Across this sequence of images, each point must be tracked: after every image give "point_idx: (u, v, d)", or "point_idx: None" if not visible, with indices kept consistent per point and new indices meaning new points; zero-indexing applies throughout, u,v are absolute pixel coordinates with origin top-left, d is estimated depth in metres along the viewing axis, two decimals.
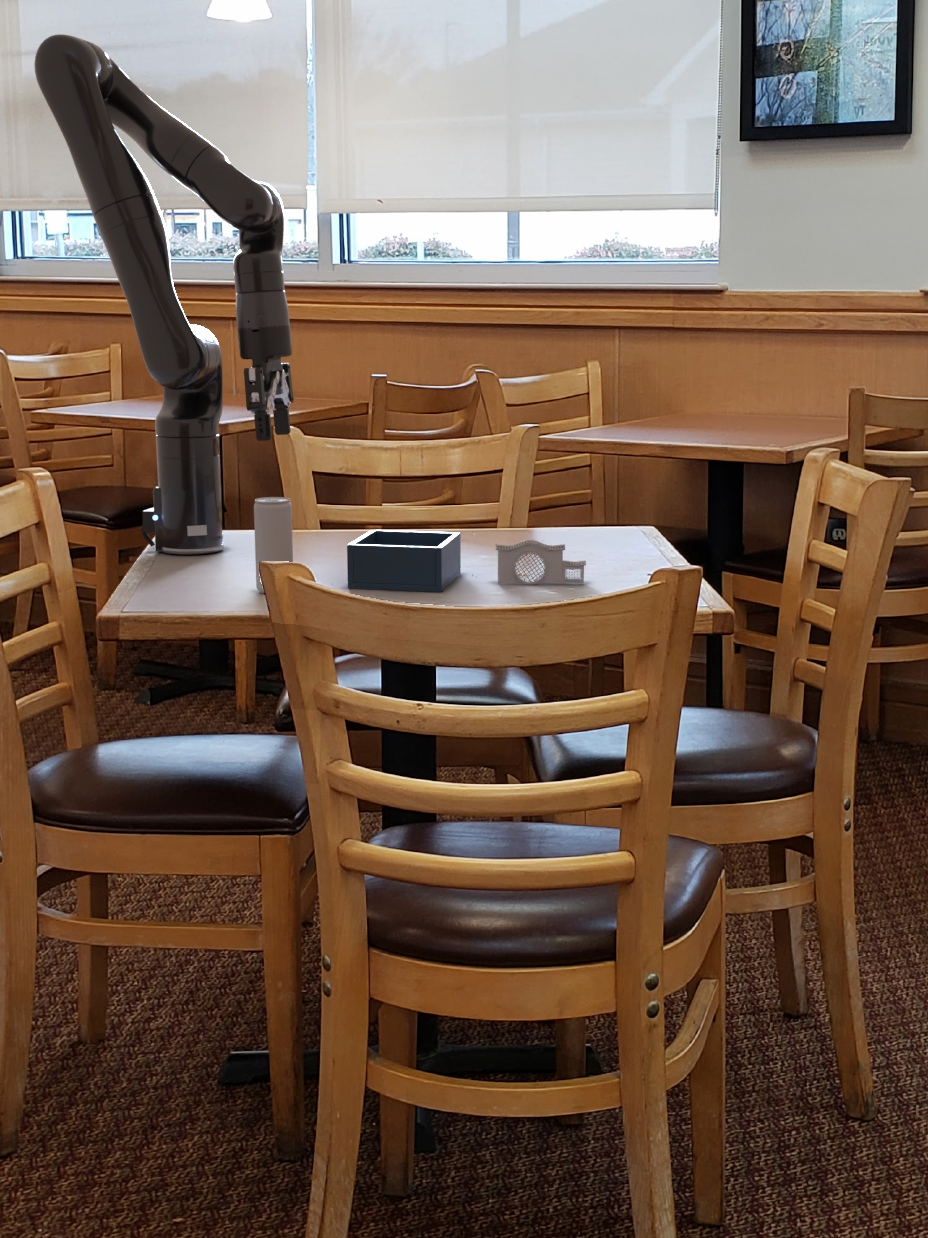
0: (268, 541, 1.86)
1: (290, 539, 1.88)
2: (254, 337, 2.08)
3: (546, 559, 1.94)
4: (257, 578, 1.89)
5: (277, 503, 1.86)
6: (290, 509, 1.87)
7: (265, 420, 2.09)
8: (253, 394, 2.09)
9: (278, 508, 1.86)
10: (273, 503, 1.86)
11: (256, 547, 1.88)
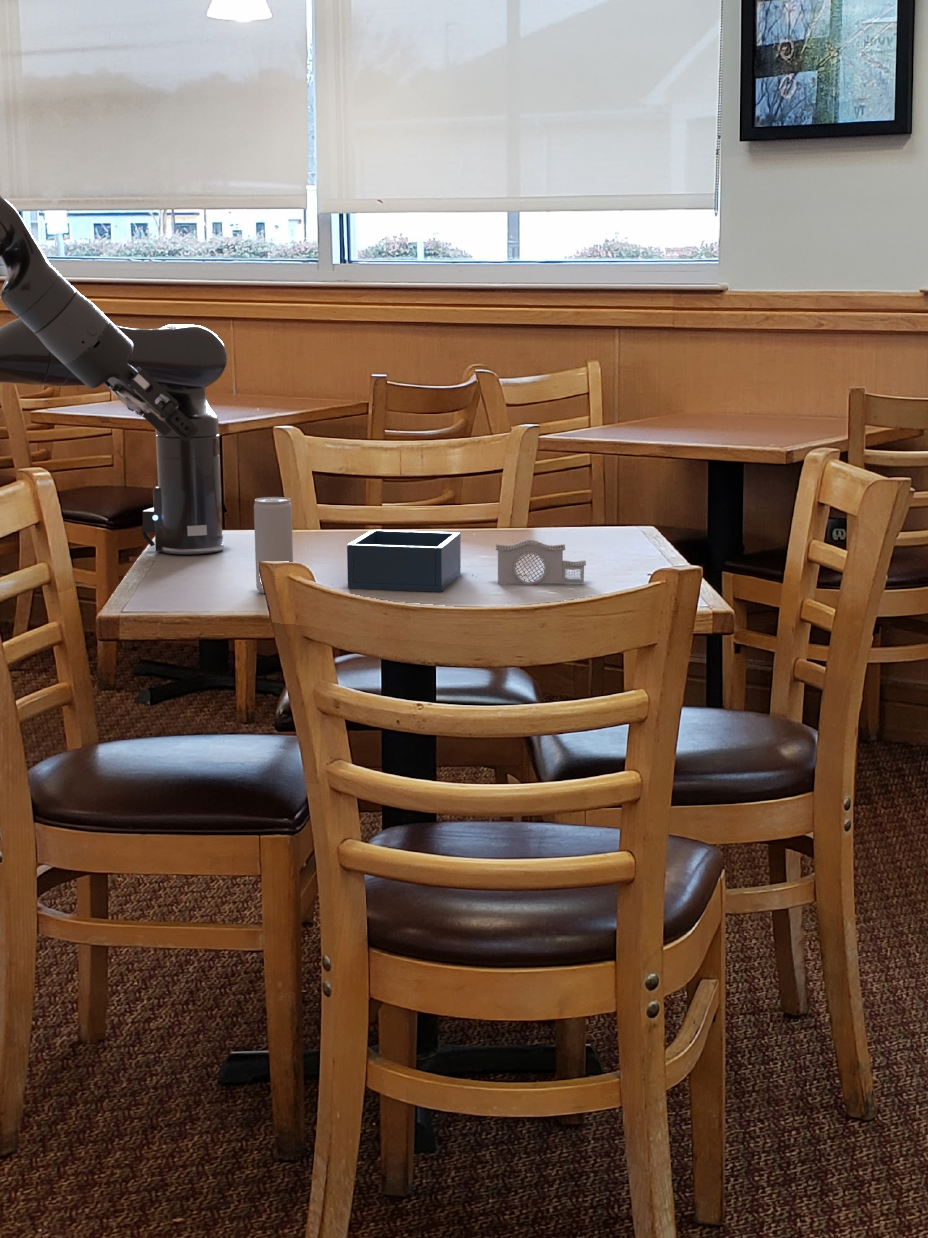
0: (268, 541, 1.86)
1: (290, 539, 1.88)
2: (101, 351, 1.70)
3: (546, 559, 1.94)
4: (257, 578, 1.89)
5: (277, 503, 1.86)
6: (290, 509, 1.87)
7: (181, 416, 1.75)
8: (146, 405, 1.74)
9: (278, 508, 1.86)
10: (273, 503, 1.86)
11: (256, 547, 1.88)
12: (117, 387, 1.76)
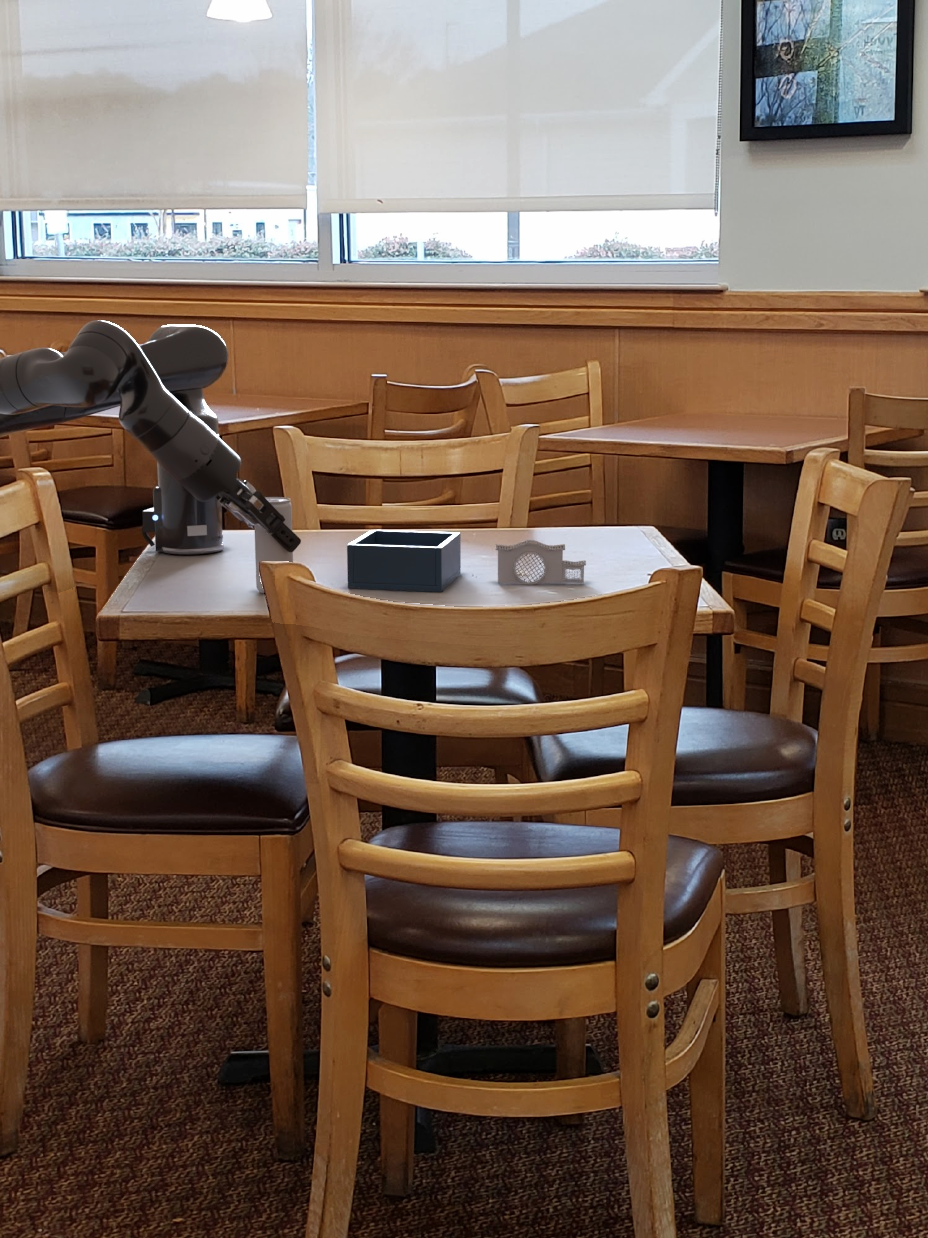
0: (268, 541, 1.86)
1: None
2: (213, 469, 1.79)
3: (546, 559, 1.94)
4: (257, 578, 1.89)
5: (277, 503, 1.86)
6: (290, 509, 1.87)
7: (286, 529, 1.86)
8: (255, 520, 1.84)
9: (278, 507, 1.86)
10: (273, 503, 1.86)
11: (256, 547, 1.88)
12: (224, 499, 1.85)
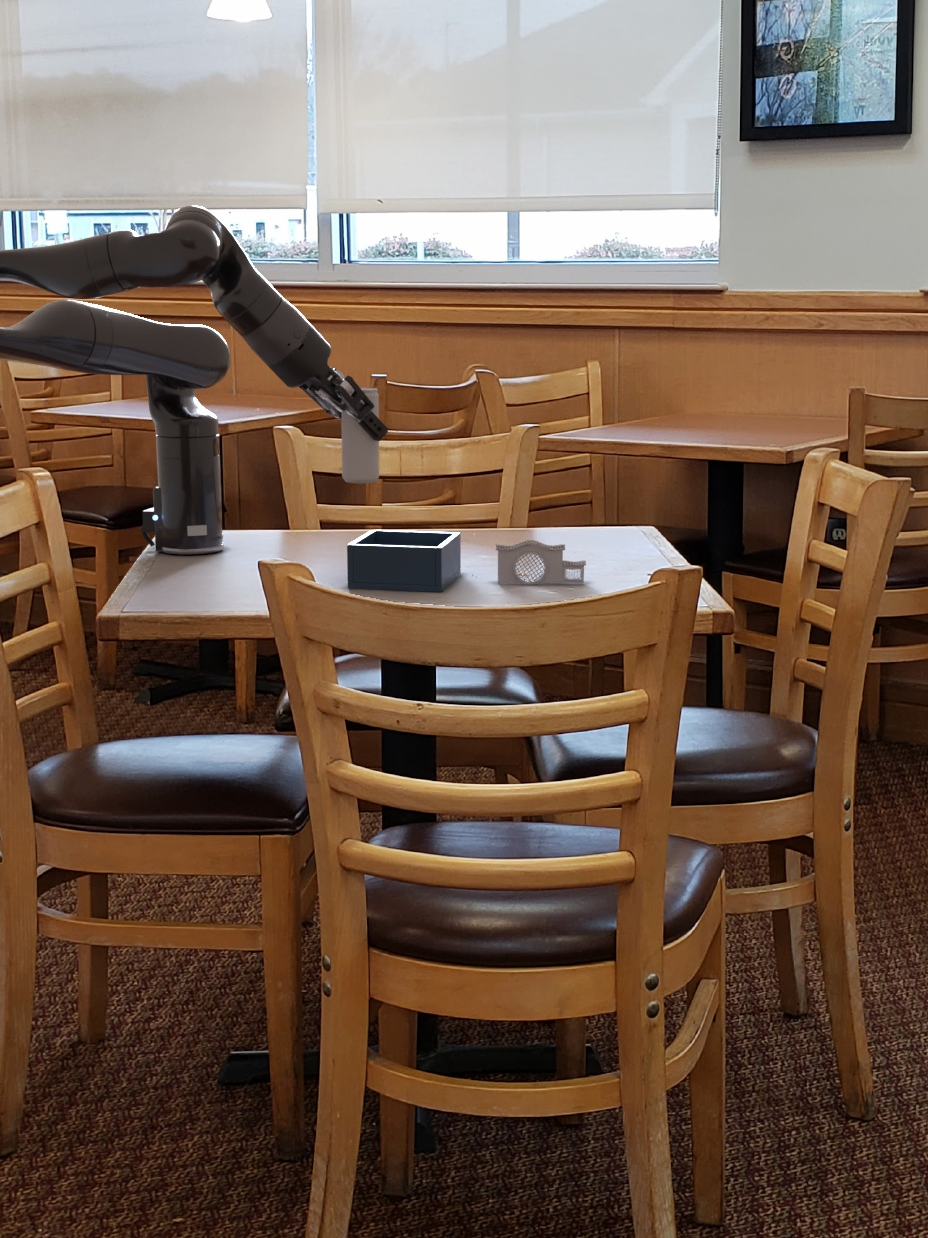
0: (356, 429, 1.88)
1: None
2: (305, 353, 1.81)
3: (546, 559, 1.94)
4: (343, 467, 1.90)
5: (365, 391, 1.87)
6: (377, 398, 1.89)
7: (374, 417, 1.87)
8: (344, 406, 1.85)
9: None
10: None
11: (343, 436, 1.89)
12: (313, 387, 1.87)
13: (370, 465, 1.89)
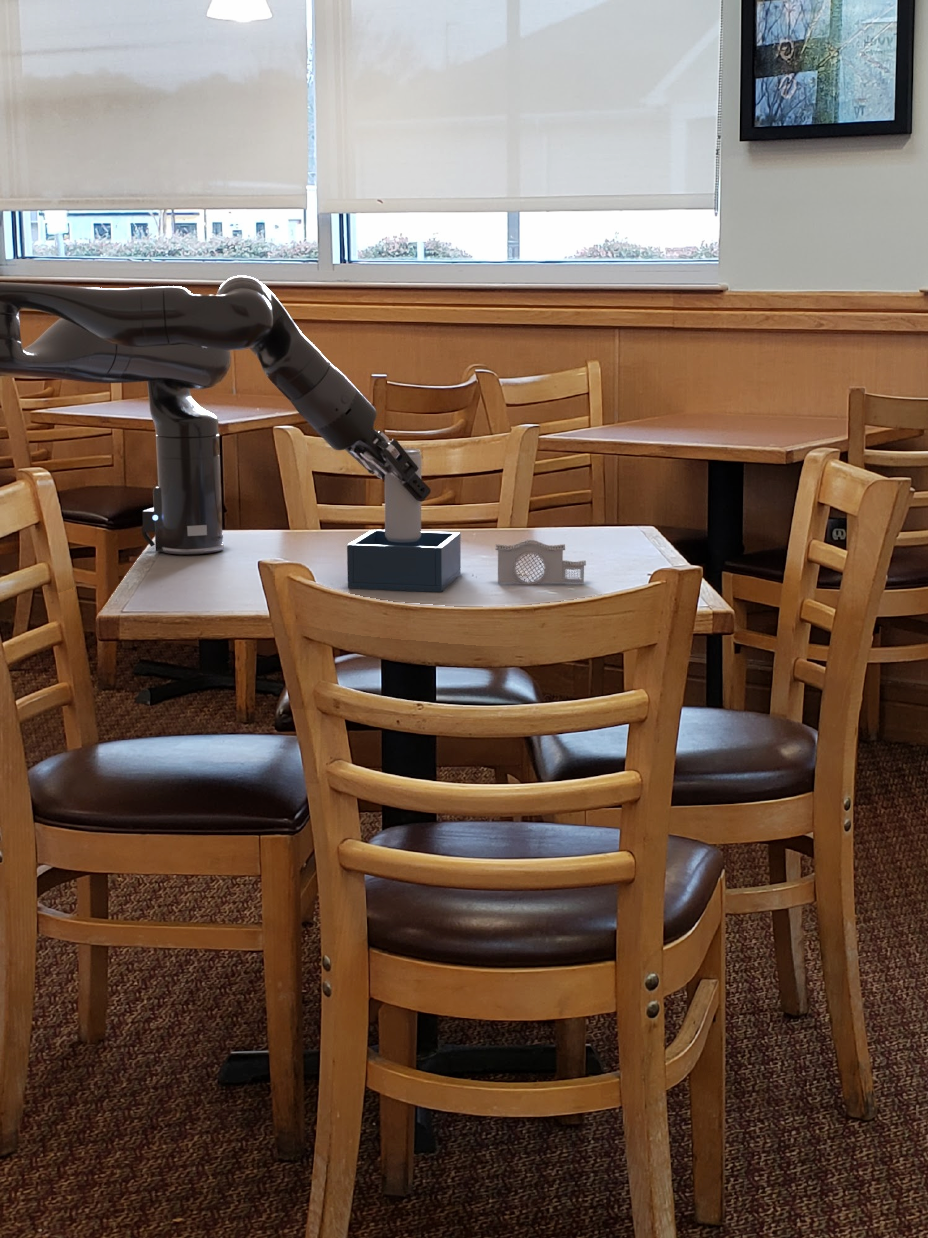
0: (399, 490, 1.92)
1: None
2: (352, 418, 1.85)
3: (546, 559, 1.94)
4: (386, 527, 1.94)
5: (409, 453, 1.91)
6: (420, 460, 1.93)
7: (417, 478, 1.91)
8: (388, 469, 1.89)
9: None
10: None
11: (386, 496, 1.93)
12: (358, 449, 1.91)
13: (413, 525, 1.93)
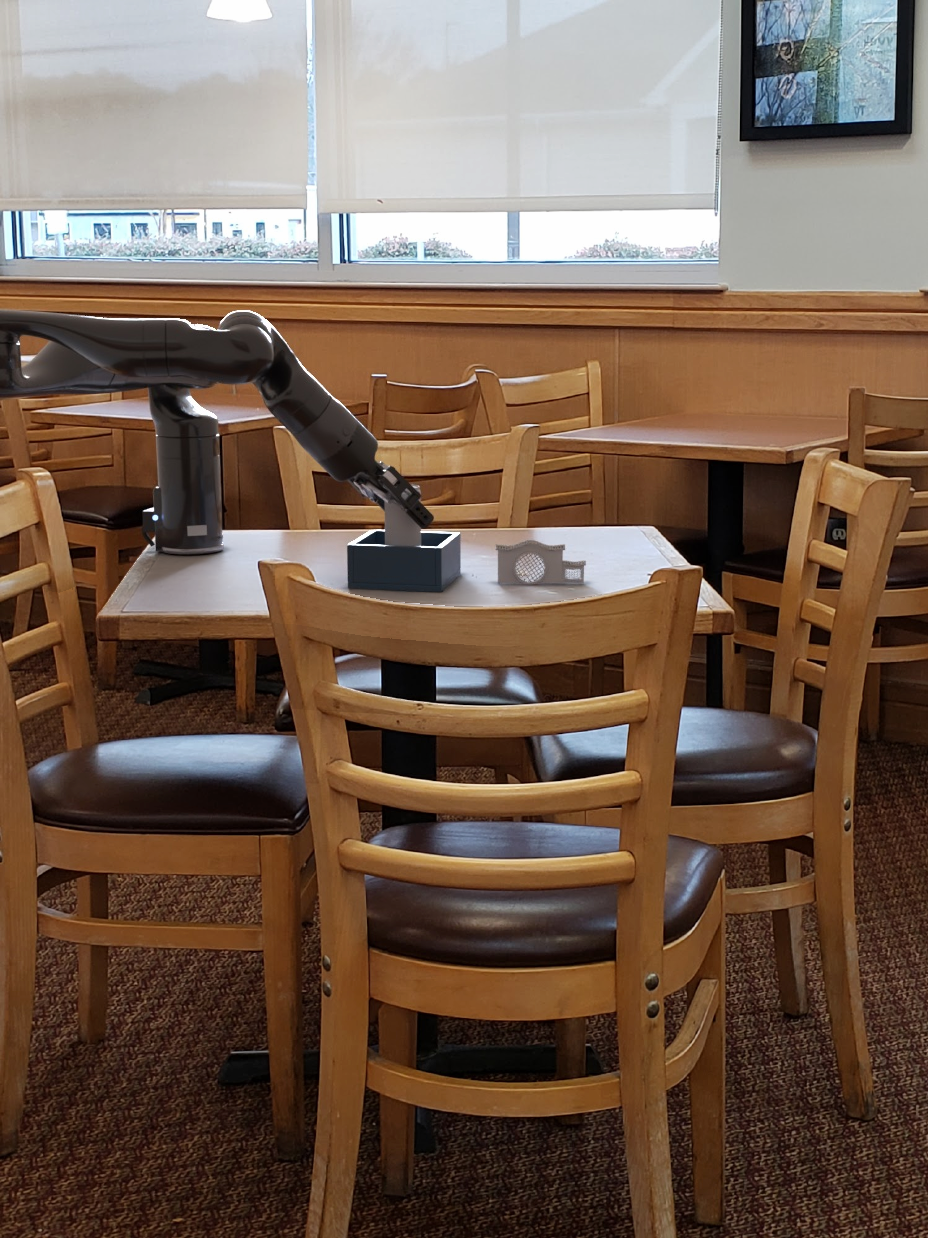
0: (399, 526, 1.93)
1: None
2: (353, 450, 1.86)
3: (546, 559, 1.94)
4: None
5: None
6: None
7: (421, 506, 1.90)
8: (390, 497, 1.89)
9: None
10: None
11: (386, 532, 1.94)
12: (360, 479, 1.92)
13: None
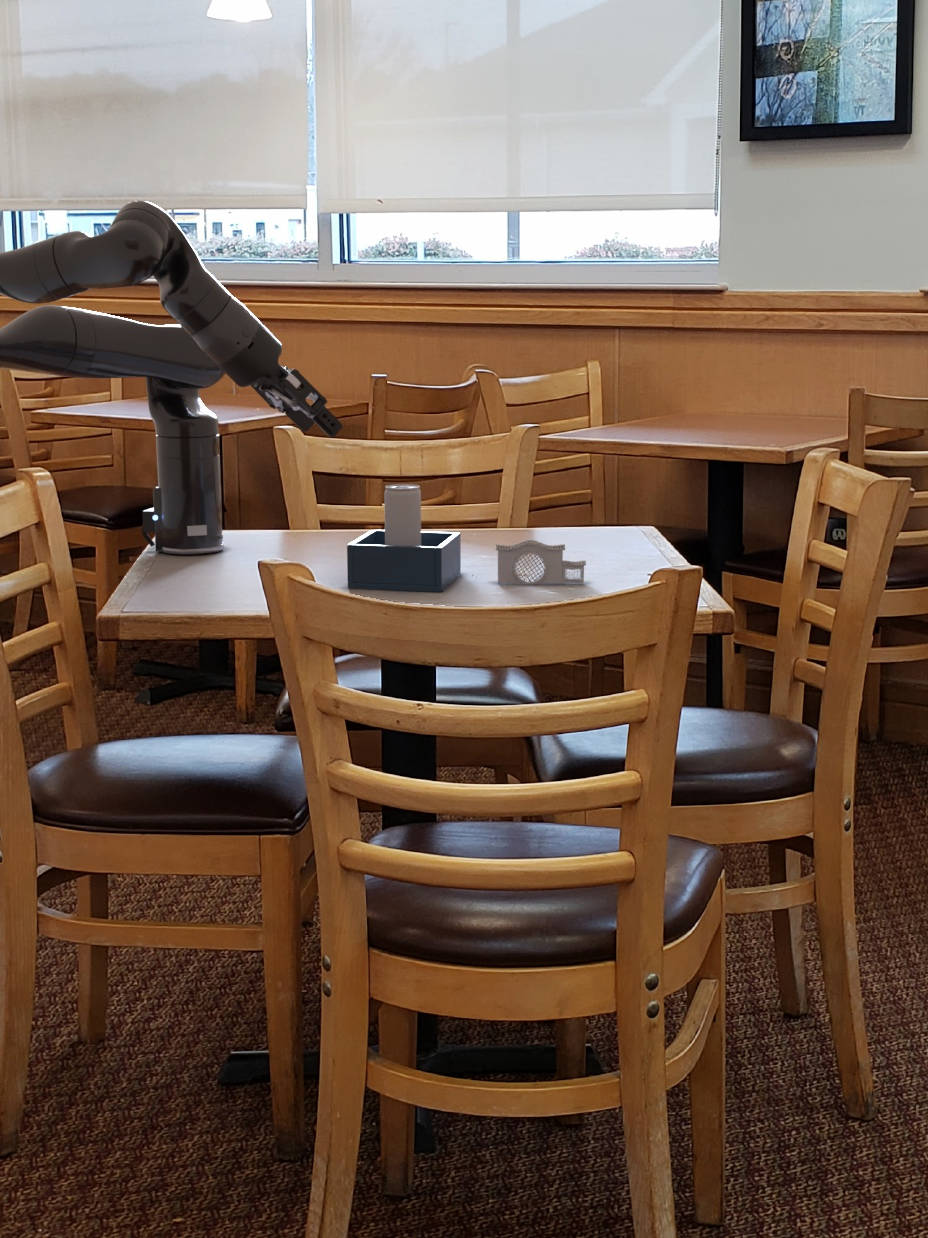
0: (399, 526, 1.93)
1: (419, 525, 1.95)
2: (254, 352, 1.78)
3: (546, 559, 1.94)
4: None
5: (408, 490, 1.92)
6: (420, 496, 1.94)
7: (328, 413, 1.83)
8: (295, 402, 1.81)
9: (410, 494, 1.92)
10: (404, 490, 1.92)
11: (386, 532, 1.94)
12: (265, 386, 1.84)
13: None
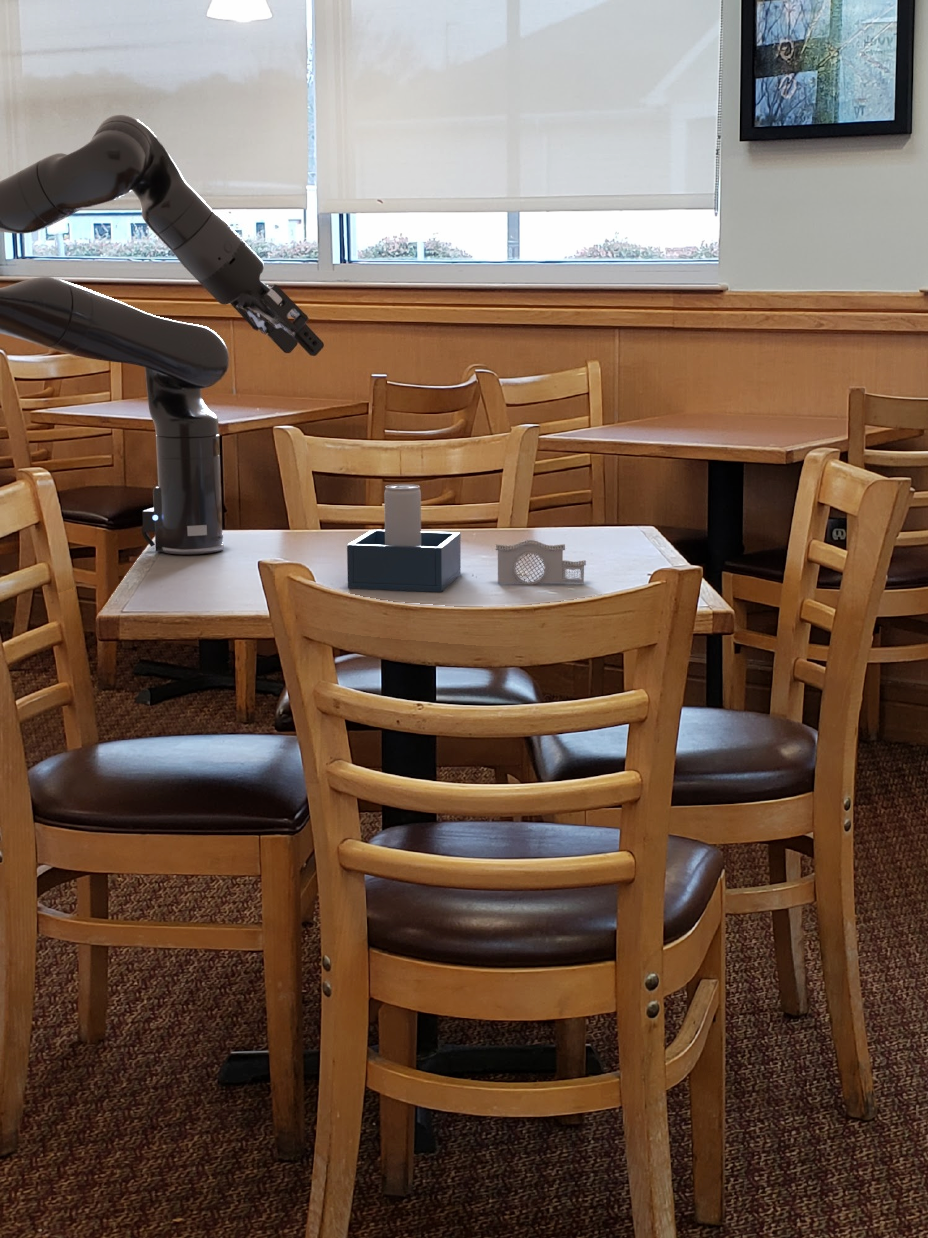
0: (399, 526, 1.93)
1: (419, 525, 1.95)
2: (236, 268, 1.78)
3: (546, 559, 1.94)
4: None
5: (408, 490, 1.92)
6: (420, 496, 1.94)
7: (309, 331, 1.83)
8: (276, 320, 1.82)
9: (410, 494, 1.92)
10: (404, 490, 1.92)
11: (386, 532, 1.94)
12: (247, 304, 1.85)
13: None
